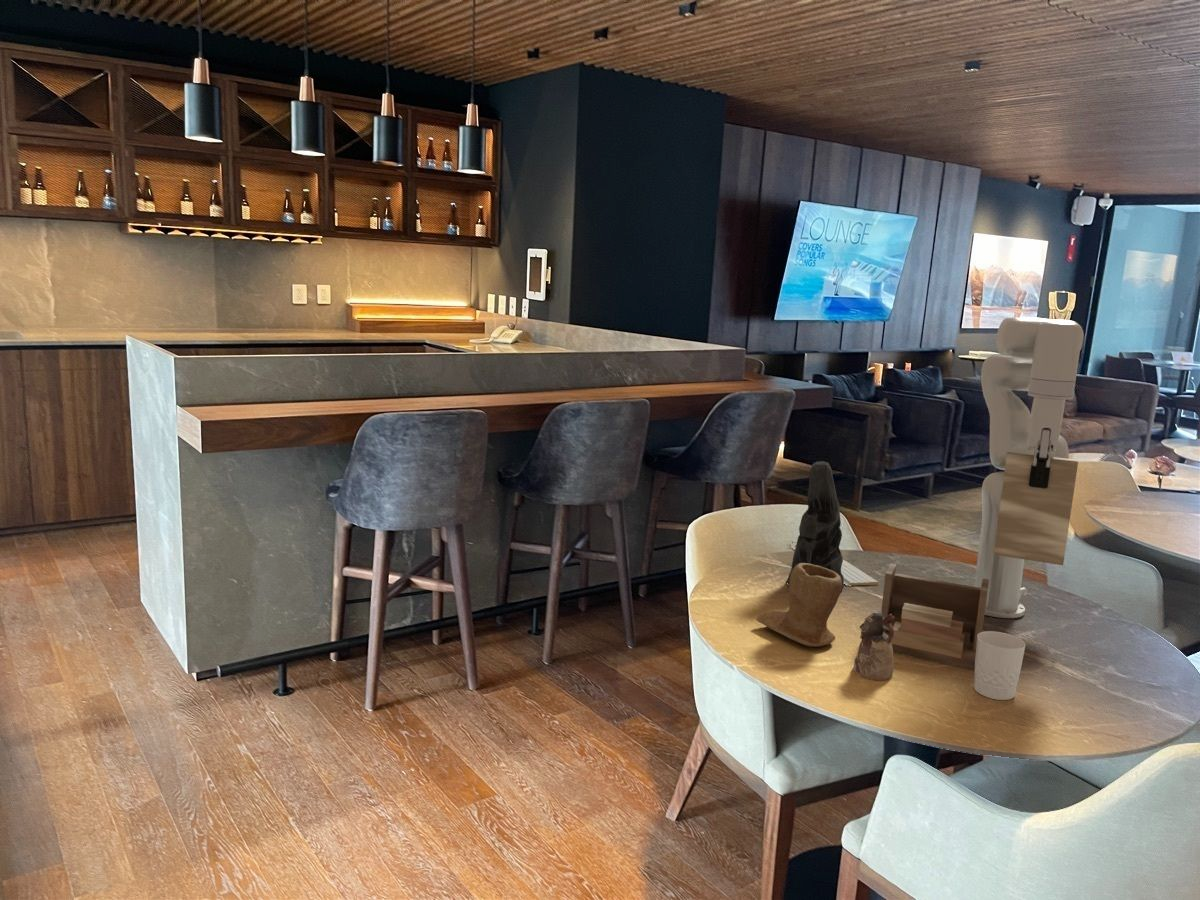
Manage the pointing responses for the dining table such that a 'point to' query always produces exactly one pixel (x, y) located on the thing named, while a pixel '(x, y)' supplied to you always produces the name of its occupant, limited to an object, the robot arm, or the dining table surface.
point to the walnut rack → (938, 595)
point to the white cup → (998, 664)
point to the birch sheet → (1035, 510)
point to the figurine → (875, 648)
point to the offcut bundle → (929, 631)
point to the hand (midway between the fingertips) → (1037, 485)
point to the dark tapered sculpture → (820, 524)
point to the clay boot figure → (807, 606)
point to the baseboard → (853, 574)
